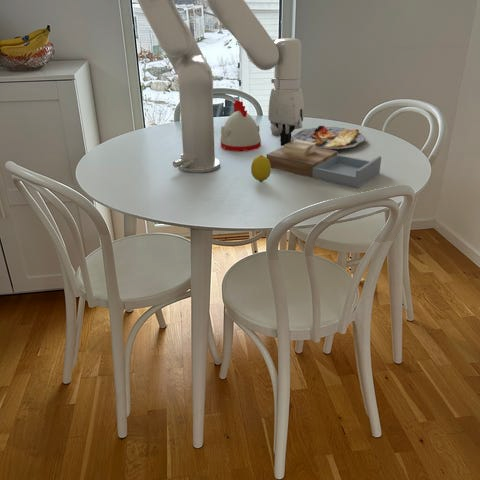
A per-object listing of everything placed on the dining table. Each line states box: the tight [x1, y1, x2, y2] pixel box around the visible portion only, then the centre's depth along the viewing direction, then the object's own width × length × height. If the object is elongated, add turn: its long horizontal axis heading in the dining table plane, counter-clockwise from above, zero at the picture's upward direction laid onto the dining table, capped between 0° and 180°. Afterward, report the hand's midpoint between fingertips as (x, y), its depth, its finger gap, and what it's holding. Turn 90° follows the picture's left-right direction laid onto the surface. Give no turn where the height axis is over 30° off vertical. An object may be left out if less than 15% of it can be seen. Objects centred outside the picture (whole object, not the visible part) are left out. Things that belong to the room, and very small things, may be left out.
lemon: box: [250, 154, 272, 183], centre depth 139 cm, size 6×6×8 cm
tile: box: [283, 140, 316, 157], centre depth 151 cm, size 7×7×2 cm
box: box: [312, 153, 382, 189], centre depth 144 cm, size 15×14×5 cm
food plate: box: [292, 124, 367, 151], centre depth 174 cm, size 25×23×4 cm
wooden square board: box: [266, 146, 338, 179], centre depth 152 cm, size 15×16×4 cm
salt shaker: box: [269, 123, 280, 136], centre depth 181 cm, size 6×6×13 cm
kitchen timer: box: [220, 99, 262, 152], centre depth 169 cm, size 14×14×15 cm
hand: (285, 145), depth 154 cm, fingers closed
